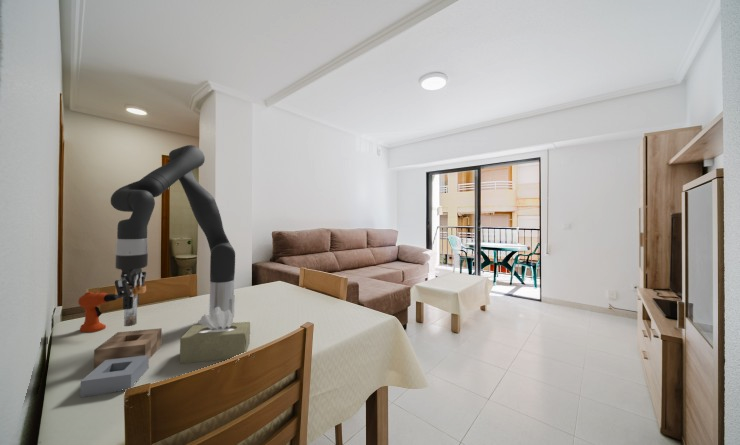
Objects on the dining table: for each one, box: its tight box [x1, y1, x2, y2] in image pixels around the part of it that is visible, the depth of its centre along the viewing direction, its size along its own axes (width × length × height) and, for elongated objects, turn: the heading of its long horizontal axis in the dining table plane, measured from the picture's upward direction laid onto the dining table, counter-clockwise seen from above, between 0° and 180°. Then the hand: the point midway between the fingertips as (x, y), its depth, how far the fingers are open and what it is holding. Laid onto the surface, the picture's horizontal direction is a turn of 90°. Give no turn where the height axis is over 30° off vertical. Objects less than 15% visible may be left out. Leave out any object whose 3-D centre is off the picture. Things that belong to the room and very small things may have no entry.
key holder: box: [79, 355, 150, 398], centre depth 71 cm, size 10×10×4 cm
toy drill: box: [77, 291, 123, 333], centre depth 101 cm, size 5×19×15 cm, turn 91°
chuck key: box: [114, 284, 147, 327], centre depth 83 cm, size 7×3×12 cm, turn 109°
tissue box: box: [179, 307, 251, 365], centre depth 87 cm, size 19×10×16 cm, turn 105°
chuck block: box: [93, 327, 163, 370], centre depth 83 cm, size 12×12×6 cm
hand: (131, 306), depth 83 cm, fingers closed on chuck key, 3 cm apart
